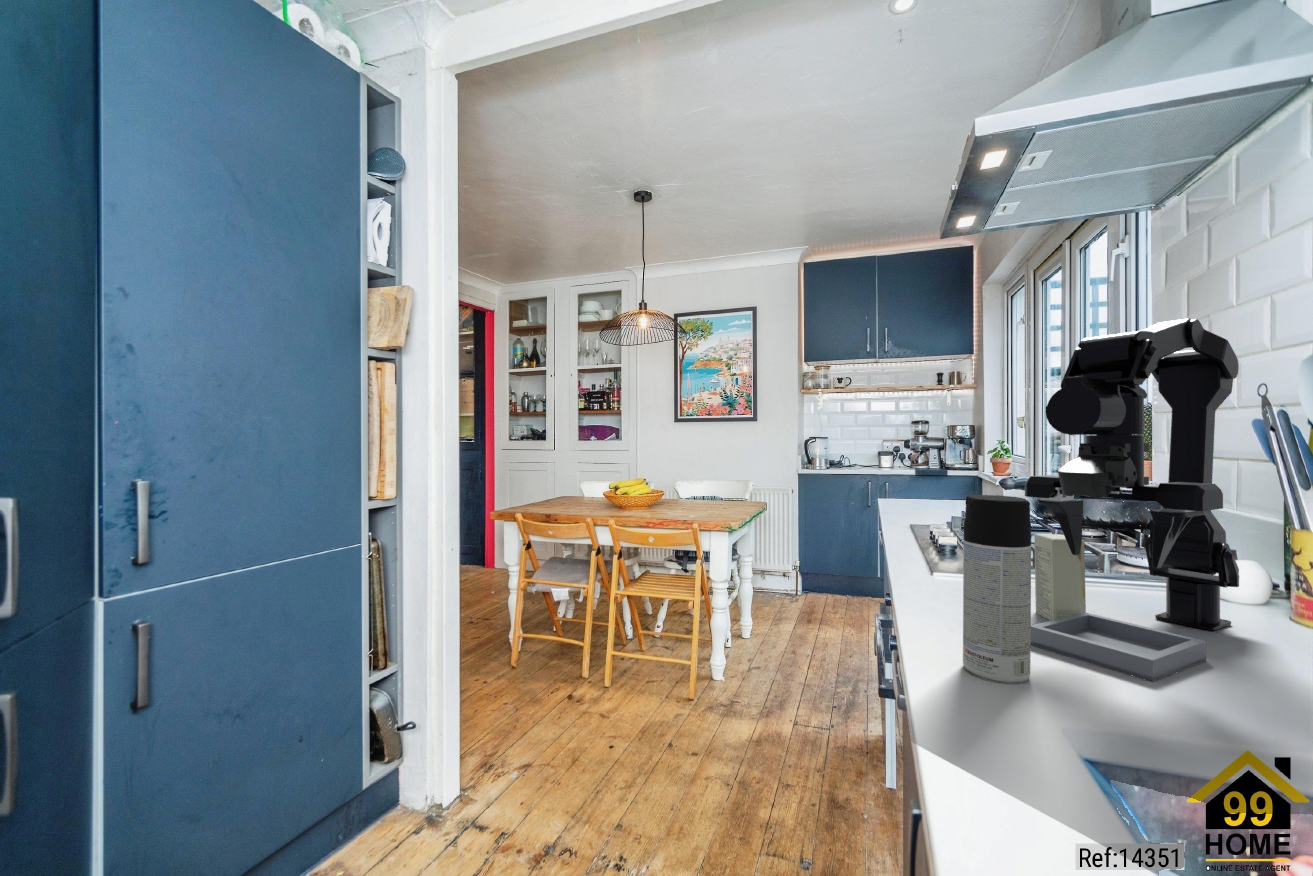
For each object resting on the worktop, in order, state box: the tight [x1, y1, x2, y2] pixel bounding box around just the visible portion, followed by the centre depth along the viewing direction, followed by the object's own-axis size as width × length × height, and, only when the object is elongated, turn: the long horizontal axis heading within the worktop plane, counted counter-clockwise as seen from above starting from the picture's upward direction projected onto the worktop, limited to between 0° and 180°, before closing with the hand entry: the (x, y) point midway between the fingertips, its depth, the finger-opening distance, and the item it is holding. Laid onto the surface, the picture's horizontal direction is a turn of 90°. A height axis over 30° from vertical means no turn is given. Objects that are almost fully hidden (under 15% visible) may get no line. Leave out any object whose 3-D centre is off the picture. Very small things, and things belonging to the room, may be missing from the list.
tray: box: [1031, 611, 1207, 683], centre depth 71 cm, size 13×13×2 cm
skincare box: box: [1033, 533, 1087, 621], centre depth 85 cm, size 6×4×12 cm
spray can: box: [962, 494, 1032, 685], centre depth 65 cm, size 7×7×20 cm
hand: (1114, 560), depth 72 cm, fingers open, 8 cm apart
